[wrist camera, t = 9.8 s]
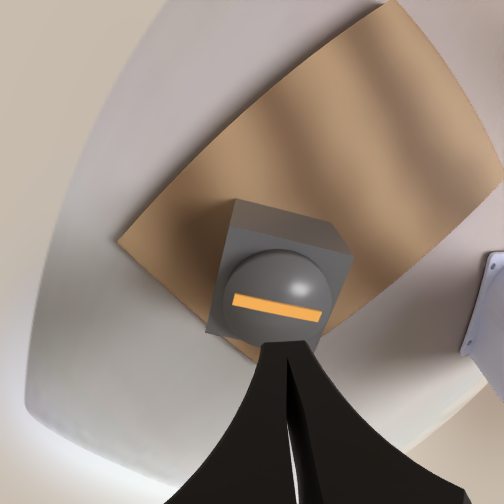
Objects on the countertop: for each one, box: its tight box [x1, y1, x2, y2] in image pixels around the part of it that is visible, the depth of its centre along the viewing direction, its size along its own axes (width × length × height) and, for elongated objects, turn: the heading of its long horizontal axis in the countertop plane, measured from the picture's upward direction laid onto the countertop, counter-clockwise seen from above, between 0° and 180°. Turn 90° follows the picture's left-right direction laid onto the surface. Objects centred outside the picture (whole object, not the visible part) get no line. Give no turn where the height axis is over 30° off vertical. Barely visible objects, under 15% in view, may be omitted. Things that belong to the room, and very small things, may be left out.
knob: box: [205, 198, 355, 353], centre depth 15 cm, size 5×5×5 cm
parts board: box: [117, 0, 504, 363], centre depth 17 cm, size 21×13×1 cm, turn 133°
